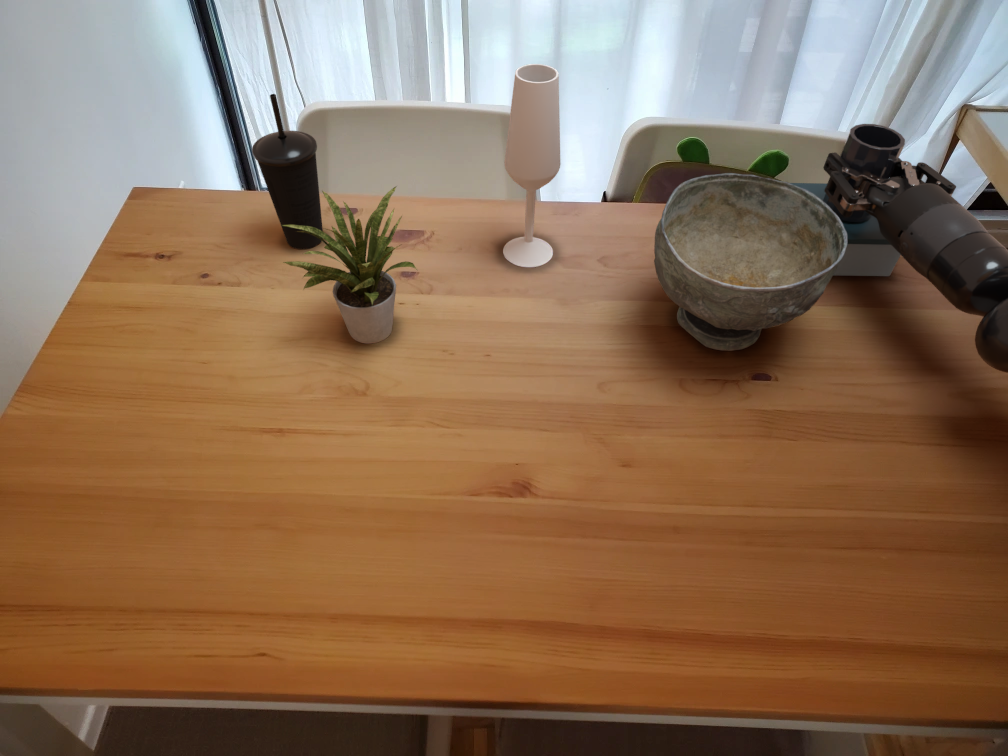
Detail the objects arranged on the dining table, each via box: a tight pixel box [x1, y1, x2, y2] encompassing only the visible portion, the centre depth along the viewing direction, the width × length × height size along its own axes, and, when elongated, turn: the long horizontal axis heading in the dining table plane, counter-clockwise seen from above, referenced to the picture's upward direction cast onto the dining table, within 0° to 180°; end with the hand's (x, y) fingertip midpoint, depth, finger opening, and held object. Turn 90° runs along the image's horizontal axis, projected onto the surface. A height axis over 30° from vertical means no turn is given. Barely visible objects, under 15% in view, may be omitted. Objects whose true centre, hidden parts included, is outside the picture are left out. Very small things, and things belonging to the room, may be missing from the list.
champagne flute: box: [502, 63, 561, 268], centre depth 87 cm, size 7×7×24 cm
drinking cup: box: [251, 93, 324, 250], centre depth 90 cm, size 8×8×20 cm
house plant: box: [282, 186, 418, 344], centre depth 80 cm, size 14×14×16 cm
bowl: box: [653, 172, 847, 352], centre depth 81 cm, size 20×19×15 cm
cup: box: [823, 123, 906, 222], centre depth 89 cm, size 6×6×10 cm
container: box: [789, 182, 901, 277], centre depth 95 cm, size 13×13×6 cm
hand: (854, 157), depth 90 cm, fingers closed on cup, 6 cm apart
